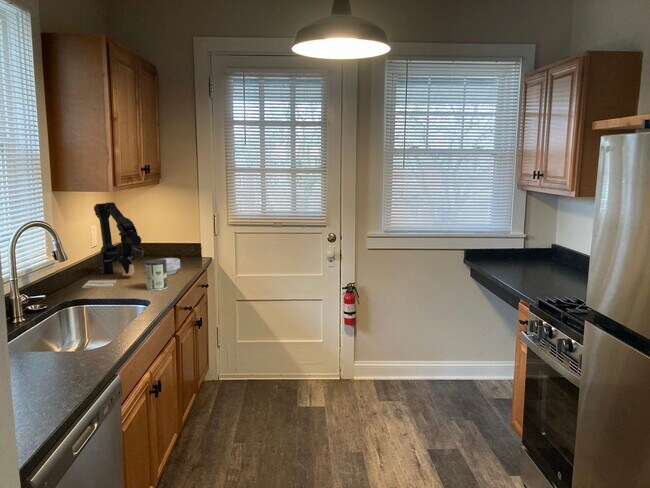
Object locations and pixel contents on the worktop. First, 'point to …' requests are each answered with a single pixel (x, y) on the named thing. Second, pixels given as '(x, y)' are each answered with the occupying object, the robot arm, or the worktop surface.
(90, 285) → the striped cloth
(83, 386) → the worktop surface
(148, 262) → the coffee can
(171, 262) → the paper bowls
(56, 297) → the worktop surface
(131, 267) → the terracotta cube
